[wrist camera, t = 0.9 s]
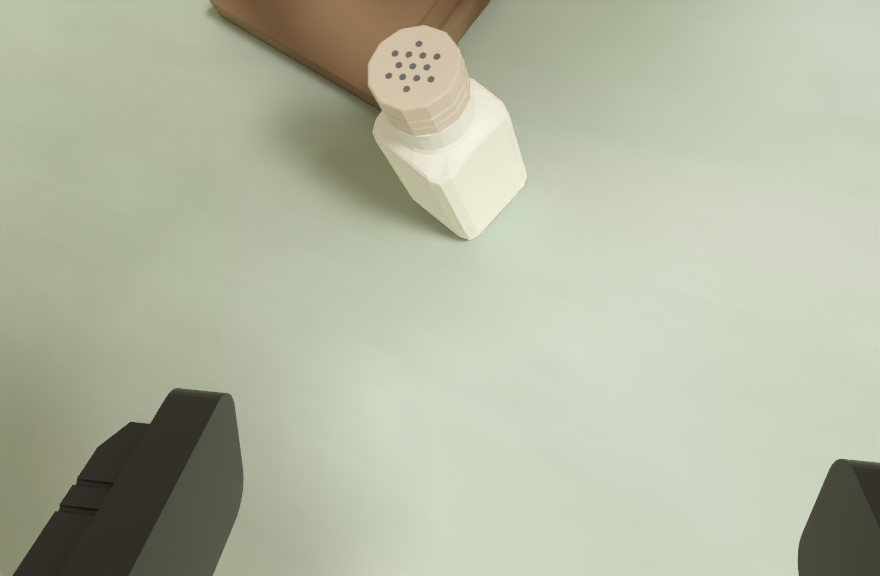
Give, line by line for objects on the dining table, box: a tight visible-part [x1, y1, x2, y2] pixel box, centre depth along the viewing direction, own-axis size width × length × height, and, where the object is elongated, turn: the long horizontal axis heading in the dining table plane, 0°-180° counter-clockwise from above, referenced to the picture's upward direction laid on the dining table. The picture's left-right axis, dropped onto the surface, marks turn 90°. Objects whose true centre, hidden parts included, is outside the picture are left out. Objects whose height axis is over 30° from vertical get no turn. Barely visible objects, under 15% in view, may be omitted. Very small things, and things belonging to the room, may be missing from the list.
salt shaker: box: [368, 25, 527, 240], centre depth 30 cm, size 4×4×10 cm
